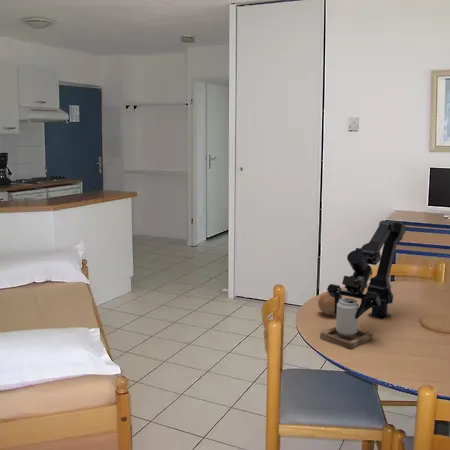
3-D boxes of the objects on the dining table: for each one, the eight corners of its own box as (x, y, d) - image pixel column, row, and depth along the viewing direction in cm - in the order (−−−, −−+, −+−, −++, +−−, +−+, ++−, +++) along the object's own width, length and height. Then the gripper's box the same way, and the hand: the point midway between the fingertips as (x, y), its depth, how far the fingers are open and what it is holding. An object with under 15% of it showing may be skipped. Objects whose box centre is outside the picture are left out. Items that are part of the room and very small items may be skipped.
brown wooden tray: (341, 329, 203) (341, 324, 202) (372, 339, 193) (372, 334, 193) (320, 338, 194) (320, 333, 194) (350, 349, 185) (351, 343, 184)
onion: (346, 317, 215) (347, 293, 214) (325, 320, 212) (326, 295, 210) (333, 309, 224) (334, 286, 222) (313, 312, 221) (314, 288, 219)
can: (352, 338, 188) (354, 305, 186) (332, 333, 193) (333, 301, 190) (360, 331, 194) (362, 299, 192) (340, 326, 199) (342, 295, 196)
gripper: (330, 262, 198) (314, 299, 191) (379, 270, 186) (364, 310, 180) (339, 278, 205) (324, 314, 199) (387, 287, 194) (373, 325, 188)
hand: (345, 315), depth 191 cm, fingers closed on can, 7 cm apart
